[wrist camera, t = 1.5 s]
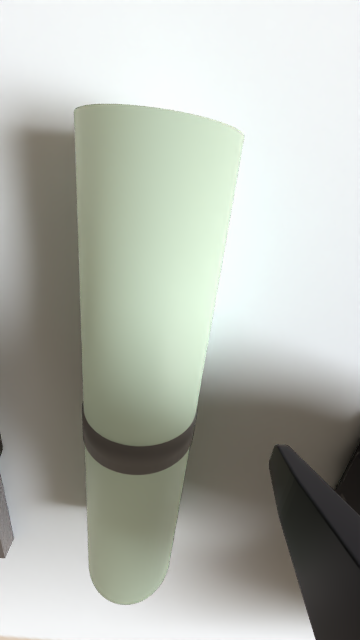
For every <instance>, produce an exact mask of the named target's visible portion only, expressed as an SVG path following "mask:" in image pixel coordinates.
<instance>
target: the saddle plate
mask: <svg viewBox="0 0 360 640" xmlns="http://www.w3.org/2000/svg"><path fill="white" fill-rule="evenodd" d="M13 539H14V537H13V532H12V527H11V522H10V518H9V513H8V508H7V503H6V499H5V494H4V489H3V484H2V480H1V475H0V558H5V557H6V555H7V553H8V550H9V548H10V546H11V544H12V541H13Z"/></svg>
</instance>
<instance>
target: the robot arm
mask: <svg viewBox="0 0 360 640" xmlns="http://www.w3.org/2000/svg"><path fill="white" fill-rule="evenodd" d="M2 450H3V444H2V439H1V434H0V456H1V454H2ZM269 470H270V475H271V480H272V485H273V490H274V495H275V500H276V505H277V510H278V515H279V519H280V522H281V526H282V529H283V533H284V536H285V539H286V542H287V546H288V549H289V552H290V556H291V559H292V562H293V566H294V569H295V572H296V576H297V579H298V582H299V586H300V589H301V592H302V596H303V599H304V602H305V606H306V609H307V612H308V616H309V619H310V622H311V626H312V629H313V632H314V636H315V639H316V640H360V443H359V445H358V447H357V449H356V451H355V453H354V455H353V457H352V459H351V461H350V463H349V465H348V467H347V469H346V471H345V473H344V475H343V476H342V478H341V480H340V482H339V484H338V486H337V488H336V490H335V491H334V490H333V489H332V488H331V487H330V486H329V485H328V484H327V483H326V482H325V481H324V480H323V479H322V478H321V477H320V476H319V475H318V474H317V473H316V472H315V471H314V470H313V469H312V468H311V467H310V466H309V465H308V464H307V463H306V462H305V461H304V460H303V459H302V458H301V457H299V456H298V455H297V454H296V453H295V452H294V451H293V450H292V449H291V448H290V447H289V446H288V445H279V444H277V445H275V446H274V449H273V452H272V455H271V458H270V461H269Z"/></svg>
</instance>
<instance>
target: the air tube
mask: <svg viewBox="0 0 360 640" xmlns="http://www.w3.org/2000/svg"><path fill="white" fill-rule="evenodd" d="M74 129H75V160H76V191H77V221H78V252H79V283H80V313H81V344H82V375H83V403H82V421H83V440H84V444H85V467H86V497H87V528H88V559H89V572H90V576H91V579H92V582H93V584H94V586H95V588H96V589H97V591H98V592H99V593H100V594H101V595H102V596H103V597H104V598H106V599H107V600H109V601H111V602H113V603H116V604H121V605H130V604H135V603H138V602H141V601H143V600H145V599H146V598H148V597H149V596H150V595H152V594H153V593H154V592H155V591H156V590H157V589H158V587H159V586H160V585H161V583H162V582H163V580H164V578H165V576H166V573H167V570H168V567H169V562H170V557H171V551H172V545H173V540H174V534H175V528H176V523H177V517H178V511H179V506H180V500H181V494H182V489H183V483H184V477H185V471H186V466H187V460H188V454H189V449H190V446H191V443H192V439H193V434H194V428H195V423H196V417H197V411H198V406H197V403H198V398H199V392H200V386H201V380H202V375H203V369H204V363H205V358H206V352H207V346H208V341H209V335H210V329H211V324H212V318H213V312H214V307H215V301H216V295H217V289H218V284H219V278H220V272H221V267H222V261H223V255H224V250H225V244H226V238H227V233H228V227H229V221H230V216H231V210H232V204H233V198H234V193H235V187H236V181H237V176H238V170H239V164H240V159H241V153H242V147H243V142H244V134H243V133H242V132H241V131H239V130H238V129H236V128H234V127H232V126H230V125H227V124H225V123H222V122H219V121H216V120H213V119H209V118H205V117H202V116H198V115H193V114H189V113H184V112H179V111H174V110H168V109H161V108H154V107H146V106H137V105H124V104H92V105H85V106H80V107H78V108H76V109H75V110H74Z"/></svg>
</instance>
